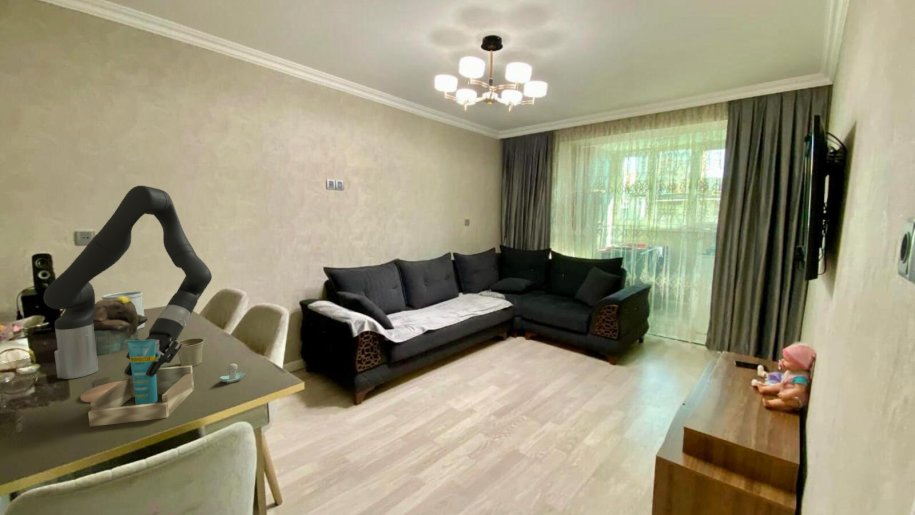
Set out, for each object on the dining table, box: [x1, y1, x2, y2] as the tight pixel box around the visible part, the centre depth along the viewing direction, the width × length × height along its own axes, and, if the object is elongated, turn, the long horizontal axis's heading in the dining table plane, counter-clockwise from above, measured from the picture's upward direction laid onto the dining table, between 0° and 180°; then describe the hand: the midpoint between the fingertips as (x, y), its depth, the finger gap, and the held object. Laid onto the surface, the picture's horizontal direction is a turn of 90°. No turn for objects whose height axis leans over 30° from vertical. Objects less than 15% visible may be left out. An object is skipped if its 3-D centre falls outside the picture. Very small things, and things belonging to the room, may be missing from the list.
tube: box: [127, 339, 158, 405], centre depth 107 cm, size 7×5×19 cm, turn 103°
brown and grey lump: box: [93, 296, 148, 357], centre depth 154 cm, size 23×25×22 cm
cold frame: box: [88, 365, 195, 427], centre depth 108 cm, size 17×17×8 cm
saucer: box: [80, 380, 122, 403], centre depth 117 cm, size 13×13×1 cm
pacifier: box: [219, 363, 246, 384], centre depth 125 cm, size 7×6×6 cm
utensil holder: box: [101, 290, 146, 330], centre depth 181 cm, size 15×15×18 cm
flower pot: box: [177, 337, 206, 367], centre depth 138 cm, size 9×9×9 cm
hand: (138, 375), depth 105 cm, fingers closed on tube, 6 cm apart
